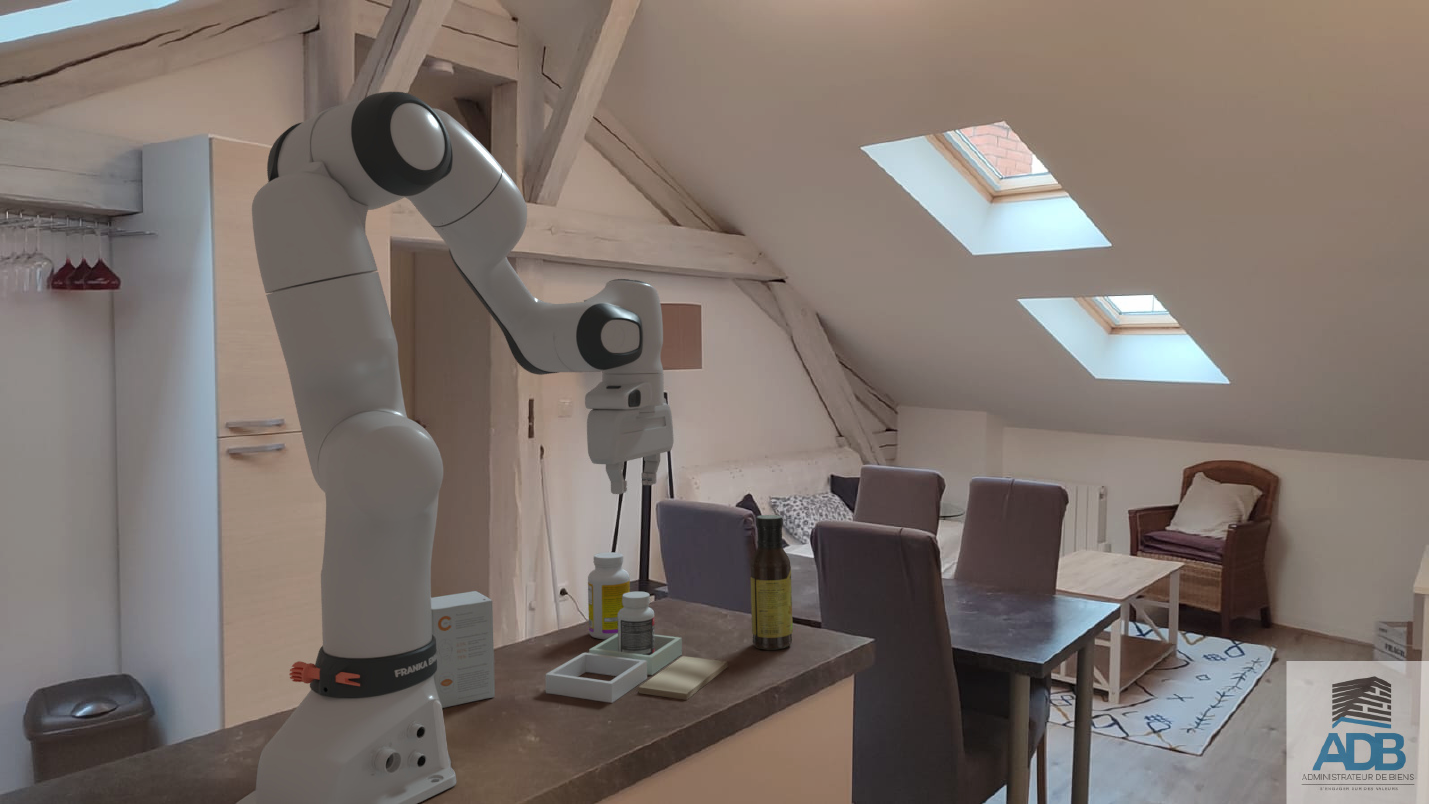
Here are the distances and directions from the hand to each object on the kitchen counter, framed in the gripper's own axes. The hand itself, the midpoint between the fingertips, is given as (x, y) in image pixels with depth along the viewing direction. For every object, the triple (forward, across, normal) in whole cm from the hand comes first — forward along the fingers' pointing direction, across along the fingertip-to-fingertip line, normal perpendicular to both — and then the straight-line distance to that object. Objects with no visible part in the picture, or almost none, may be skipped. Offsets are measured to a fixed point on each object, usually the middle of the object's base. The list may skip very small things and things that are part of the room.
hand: (634, 489), depth 140 cm
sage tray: (+25, 0, 0) cm, 25 cm away
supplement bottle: (+26, -10, -10) cm, 29 cm away
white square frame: (+25, +12, 0) cm, 28 cm away
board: (+25, +5, +10) cm, 28 cm away
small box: (+25, +22, -15) cm, 37 cm away
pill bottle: (+25, 0, 0) cm, 25 cm away
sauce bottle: (+26, -14, +16) cm, 33 cm away
